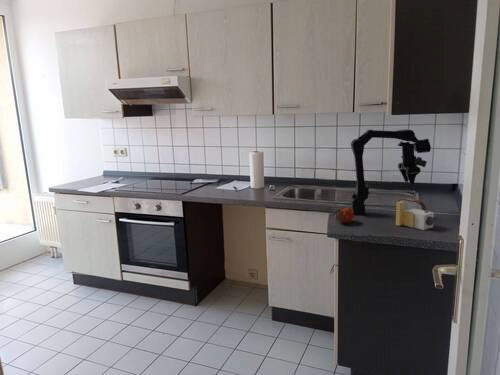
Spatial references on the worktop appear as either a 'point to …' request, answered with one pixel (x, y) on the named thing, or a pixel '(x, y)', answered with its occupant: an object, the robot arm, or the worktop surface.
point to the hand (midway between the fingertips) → (409, 183)
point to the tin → (412, 204)
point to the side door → (403, 216)
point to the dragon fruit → (345, 215)
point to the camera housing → (422, 218)
